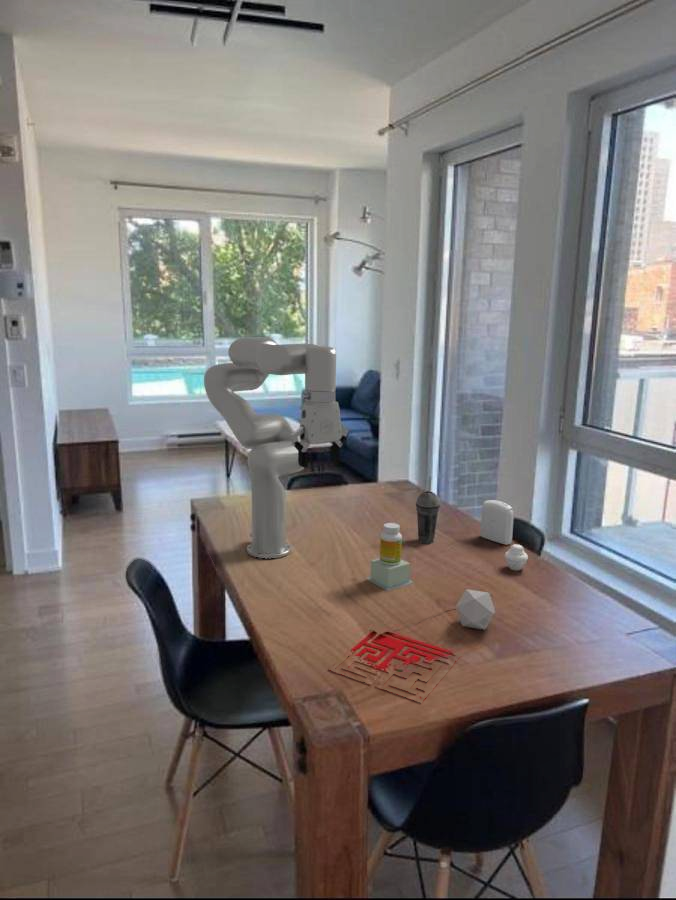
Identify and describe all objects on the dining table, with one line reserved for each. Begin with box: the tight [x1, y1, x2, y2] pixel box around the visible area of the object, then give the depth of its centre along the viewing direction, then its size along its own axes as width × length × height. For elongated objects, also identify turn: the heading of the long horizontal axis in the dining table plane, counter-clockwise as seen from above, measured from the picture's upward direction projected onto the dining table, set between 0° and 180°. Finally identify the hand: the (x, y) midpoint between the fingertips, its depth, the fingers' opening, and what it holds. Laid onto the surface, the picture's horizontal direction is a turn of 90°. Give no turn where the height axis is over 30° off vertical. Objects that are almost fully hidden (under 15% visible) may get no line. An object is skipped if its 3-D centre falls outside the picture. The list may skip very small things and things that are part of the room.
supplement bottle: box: [379, 522, 403, 565], centre depth 165 cm, size 5×5×10 cm
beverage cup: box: [415, 476, 441, 545], centre depth 197 cm, size 7×7×20 cm
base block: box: [370, 557, 411, 588], centre depth 167 cm, size 7×7×5 cm
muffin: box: [504, 543, 529, 571], centre depth 179 cm, size 6×6×7 cm
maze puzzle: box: [350, 630, 455, 676], centre depth 132 cm, size 20×20×1 cm
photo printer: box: [480, 499, 515, 546], centre depth 200 cm, size 10×4×12 cm, turn 39°
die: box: [455, 589, 496, 631], centre depth 147 cm, size 8×9×10 cm
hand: (319, 464), depth 166 cm, fingers open, 9 cm apart
